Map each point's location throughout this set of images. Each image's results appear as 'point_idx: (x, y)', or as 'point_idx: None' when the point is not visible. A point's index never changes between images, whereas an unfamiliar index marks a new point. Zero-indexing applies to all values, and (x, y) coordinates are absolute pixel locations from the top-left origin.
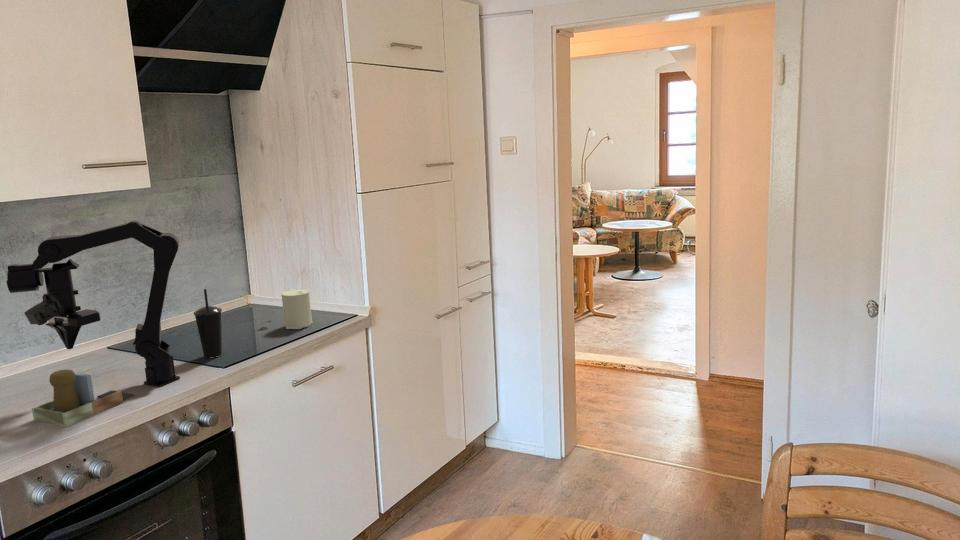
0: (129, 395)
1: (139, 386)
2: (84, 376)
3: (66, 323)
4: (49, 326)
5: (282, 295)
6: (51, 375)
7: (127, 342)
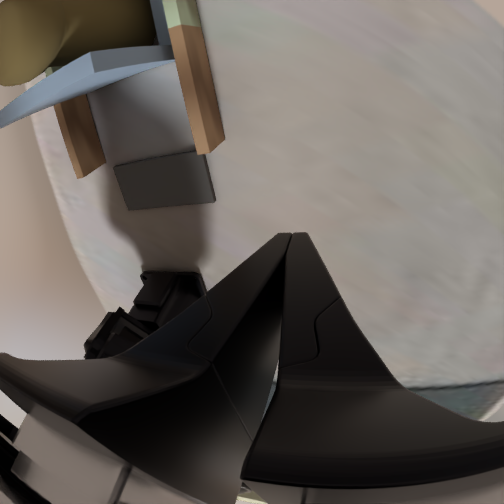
0: (125, 198)
1: (191, 257)
2: (3, 108)
3: (47, 441)
4: (470, 419)
5: (252, 498)
6: (3, 1)
7: (491, 401)
